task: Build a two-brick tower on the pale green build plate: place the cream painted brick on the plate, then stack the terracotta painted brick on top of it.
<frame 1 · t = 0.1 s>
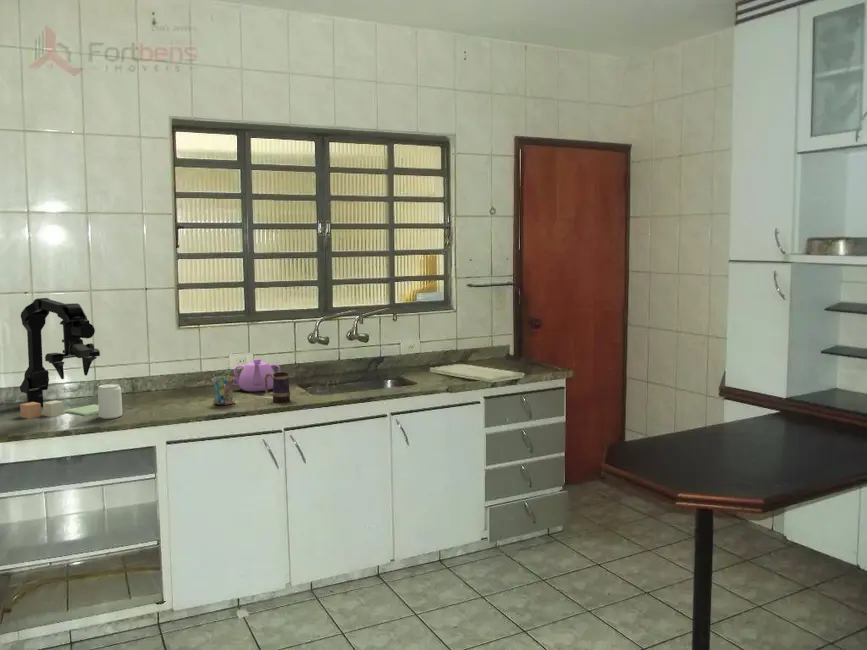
hand: (74, 377, 280), 14 cm above the countertop, fingers open, 9 cm apart
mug: (224, 404, 298), on the countertop
beverage can: (110, 417, 277), on the countertop
terracotta brick: (31, 416, 278), on the countertop
mug 2: (277, 402, 303), on the countertop
build plate: (89, 410, 287), on the countertop
teapot: (258, 390, 326), on the countertop
cream brick: (53, 415, 281), on the countertop
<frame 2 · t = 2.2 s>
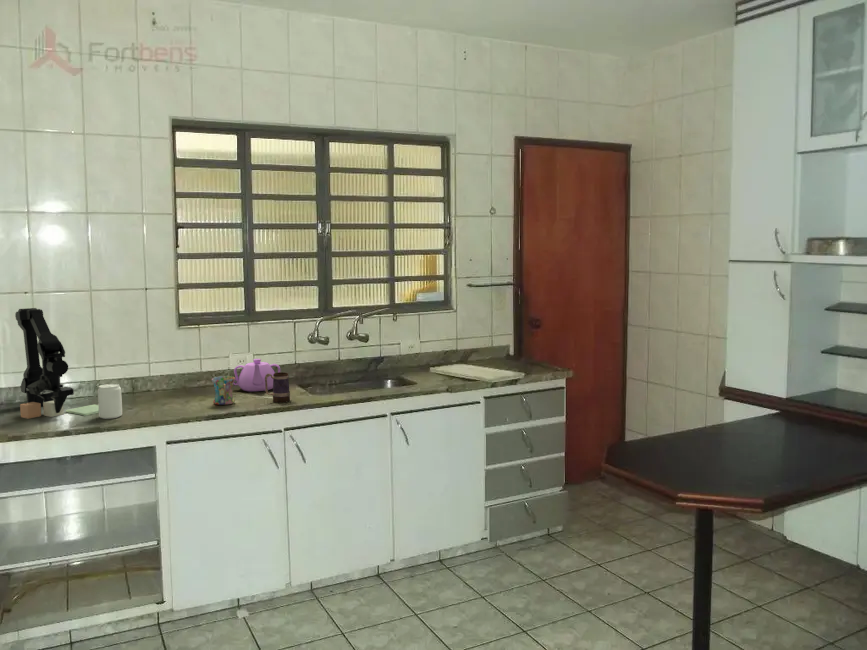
hand: (53, 412, 281), 1 cm above the countertop, fingers closed on cream brick, 5 cm apart
cream brick: (53, 414, 281), on the countertop, touching gripper
everything else where it was.
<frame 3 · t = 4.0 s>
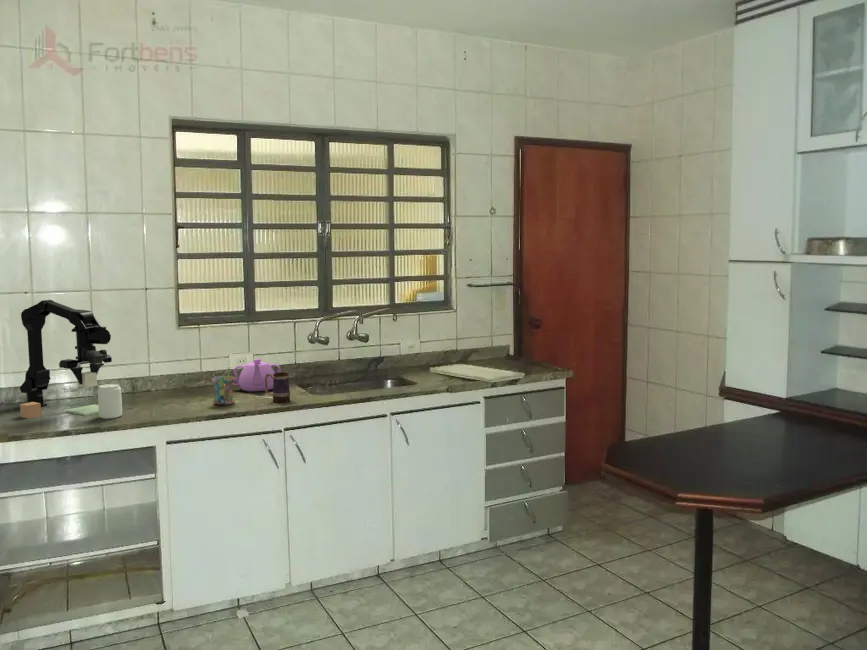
hand: (87, 383, 285), 11 cm above the countertop, fingers closed on cream brick, 5 cm apart
cream brick: (87, 385, 285), point 10 cm above the countertop, touching gripper
everything else where it was.
when the fingers open (3 cm above the countertop, at t = 5.9 s): cream brick drops 1 cm, resting on build plate.
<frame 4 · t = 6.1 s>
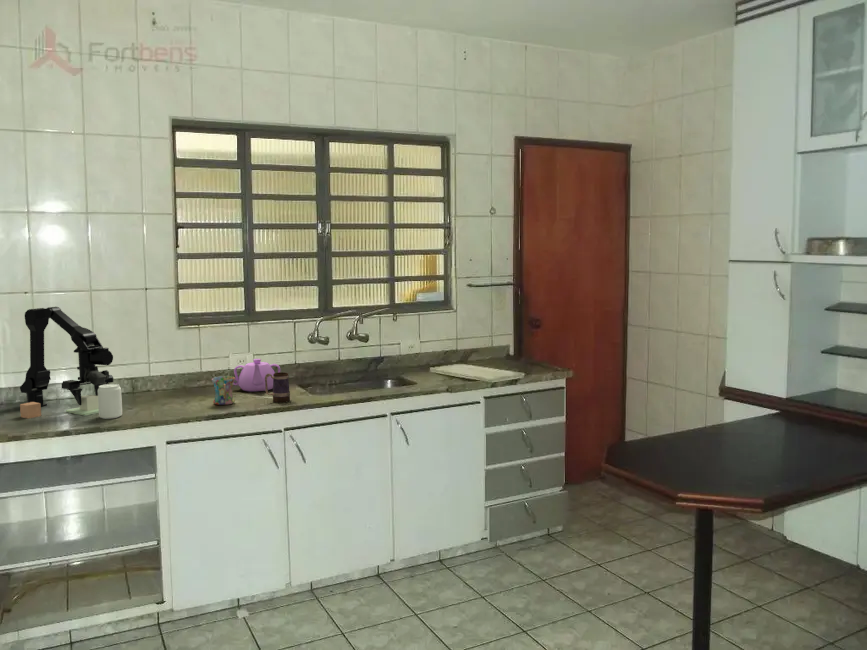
hand: (89, 403, 287), 3 cm above the countertop, fingers open, 7 cm apart
cream brick: (89, 408, 287), point 1 cm above the countertop, touching build plate
everything else where it was.
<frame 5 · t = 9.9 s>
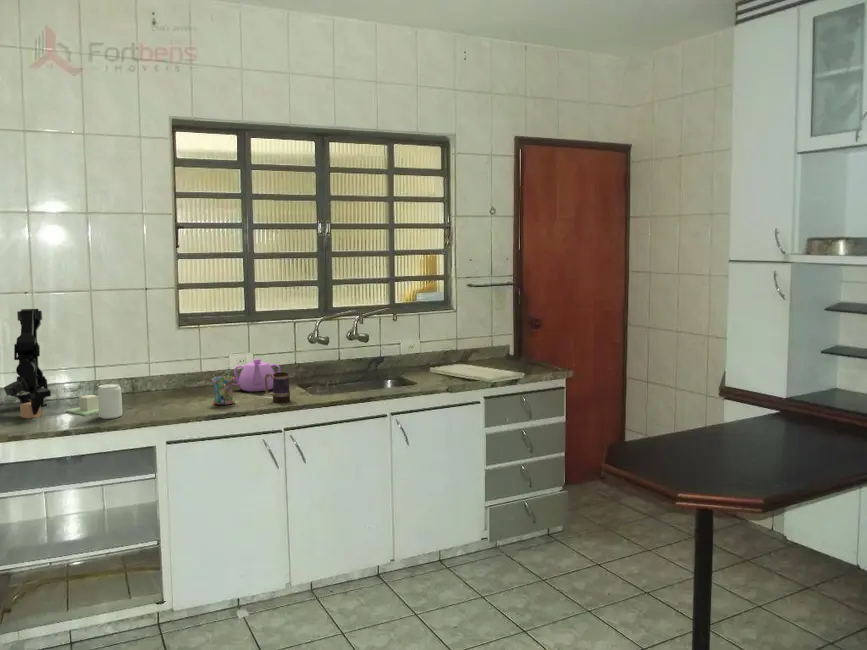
hand: (30, 413, 278), 1 cm above the countertop, fingers closed on terracotta brick, 5 cm apart
terracotta brick: (31, 416, 278), on the countertop, touching gripper
everything else where it was.
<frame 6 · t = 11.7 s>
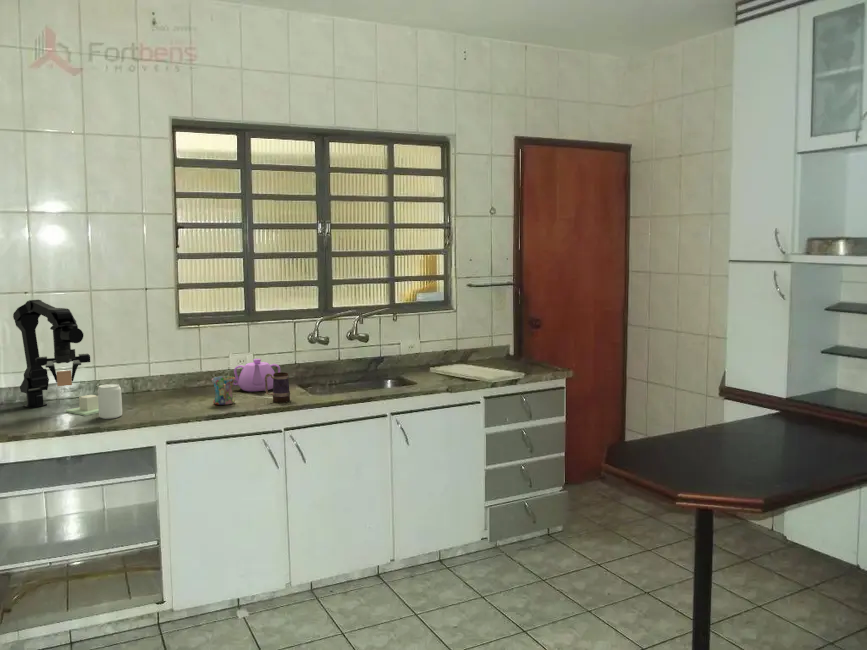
hand: (64, 381, 282), 12 cm above the countertop, fingers closed on terracotta brick, 5 cm apart
terracotta brick: (64, 384, 282), point 11 cm above the countertop, touching gripper
everything else where it was.
when the fingers open (8 cm above the countertop, at t = 13.4 s): terracotta brick drops 1 cm, resting on cream brick.
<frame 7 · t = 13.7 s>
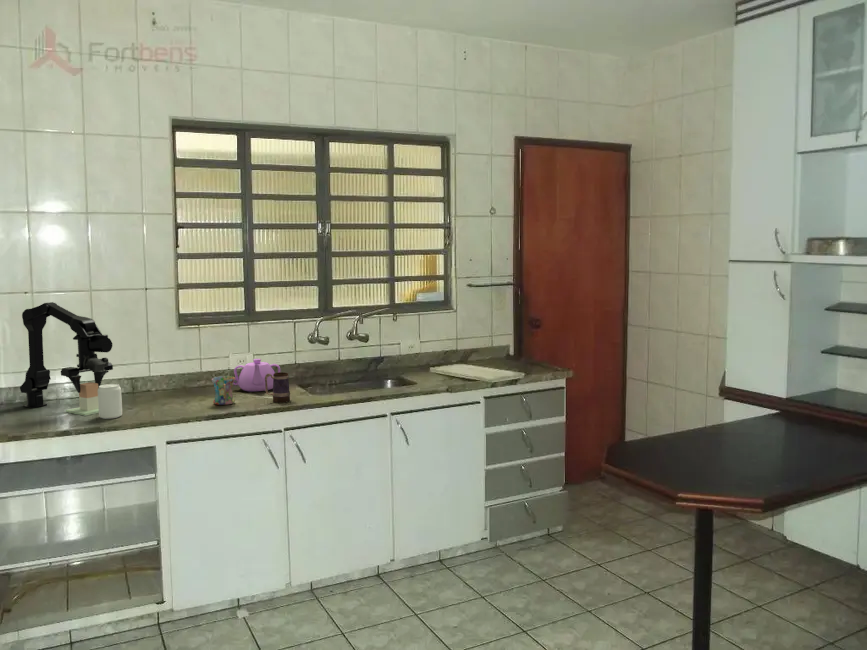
hand: (88, 390, 286), 8 cm above the countertop, fingers open, 8 cm apart
terracotta brick: (89, 396, 286), point 6 cm above the countertop, touching cream brick
cream brick: (89, 408, 287), point 1 cm above the countertop, touching build plate, terracotta brick
everything else where it was.
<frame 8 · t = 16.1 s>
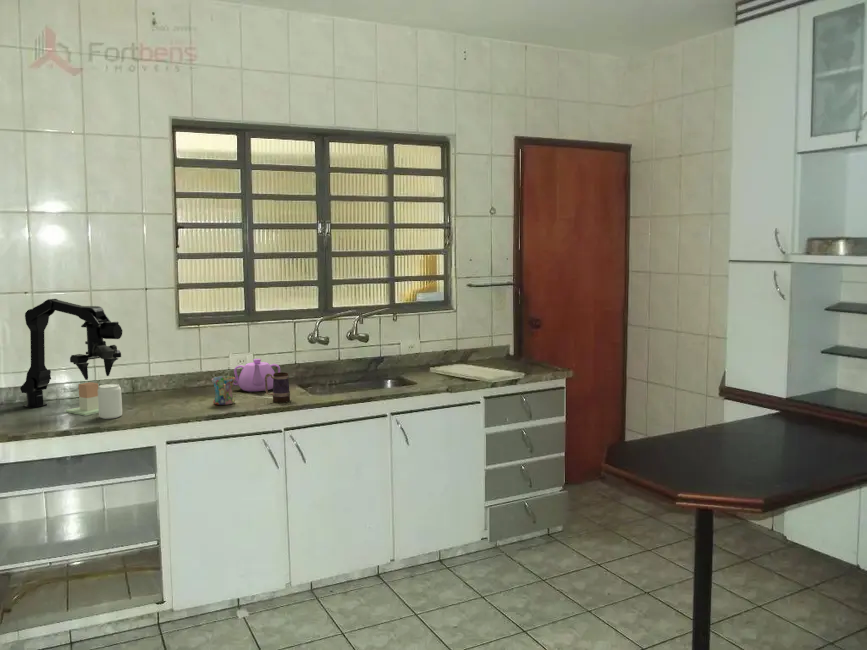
hand: (97, 377, 289), 12 cm above the countertop, fingers open, 9 cm apart
nothing on the countertop moved.
at the end: cream brick inside the target area on the build plate (0.1 cm from its centre), point 0.8 cm above the build plate's base; terracotta brick 0.1 cm off-centre on the cream brick, point 5.0 cm above the cream brick's base; terracotta brick tilted 0° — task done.
